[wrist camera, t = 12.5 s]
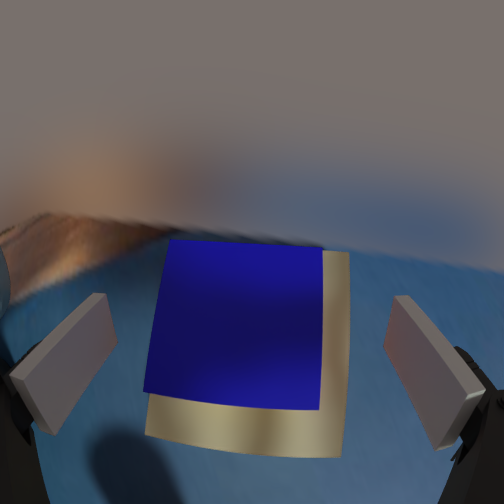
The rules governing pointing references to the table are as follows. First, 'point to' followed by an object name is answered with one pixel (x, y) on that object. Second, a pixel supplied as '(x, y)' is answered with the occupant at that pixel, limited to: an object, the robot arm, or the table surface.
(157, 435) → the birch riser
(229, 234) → the table surface
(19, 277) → the table surface
